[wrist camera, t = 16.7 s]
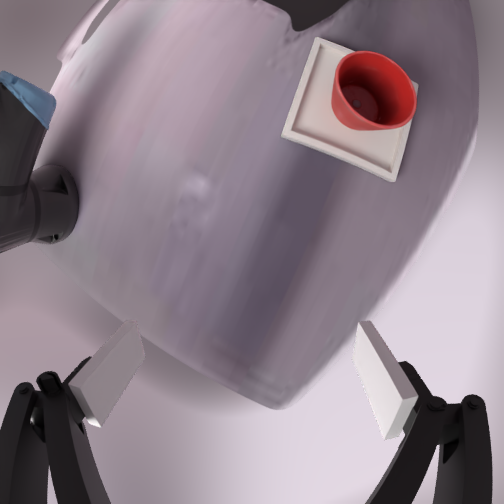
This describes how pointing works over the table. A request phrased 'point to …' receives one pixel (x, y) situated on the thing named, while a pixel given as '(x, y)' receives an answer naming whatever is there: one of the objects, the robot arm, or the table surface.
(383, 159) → the drip tray
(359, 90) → the flower pot
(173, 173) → the table surface
